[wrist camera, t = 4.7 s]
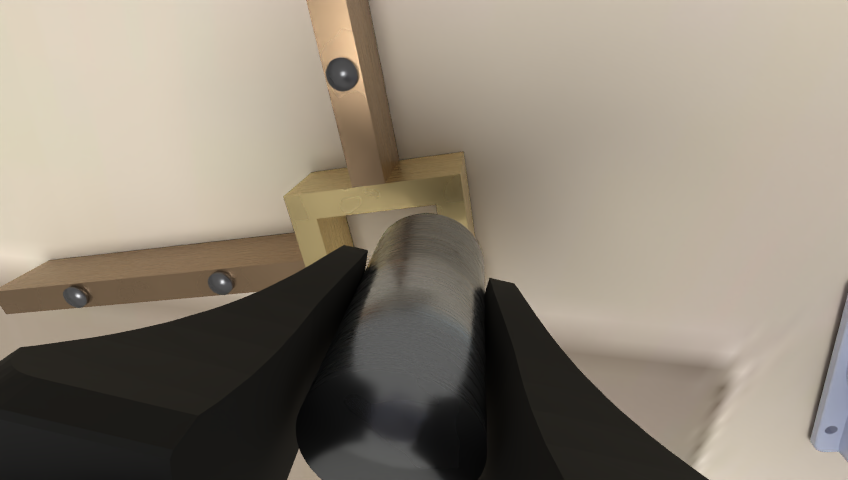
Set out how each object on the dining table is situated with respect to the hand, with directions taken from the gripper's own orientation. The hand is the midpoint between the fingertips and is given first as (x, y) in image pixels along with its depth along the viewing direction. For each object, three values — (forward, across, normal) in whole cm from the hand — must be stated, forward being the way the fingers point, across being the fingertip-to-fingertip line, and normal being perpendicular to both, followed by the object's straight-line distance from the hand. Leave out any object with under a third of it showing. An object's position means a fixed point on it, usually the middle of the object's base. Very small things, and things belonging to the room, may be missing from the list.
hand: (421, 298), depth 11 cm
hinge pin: (+2, 0, 0) cm, 2 cm away
